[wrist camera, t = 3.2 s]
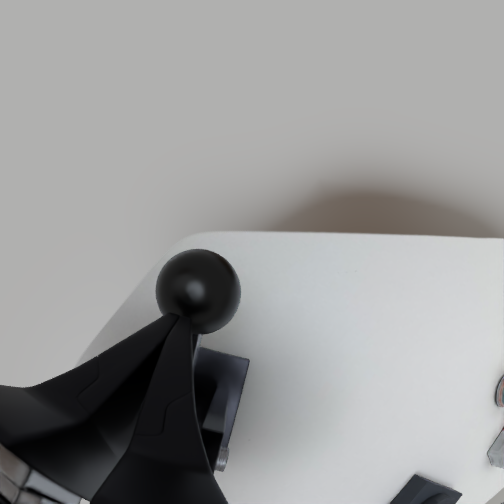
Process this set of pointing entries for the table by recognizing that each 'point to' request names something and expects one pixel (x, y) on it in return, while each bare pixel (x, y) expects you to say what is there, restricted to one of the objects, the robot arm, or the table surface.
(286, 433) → the table surface
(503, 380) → the beer can
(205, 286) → the switch lever
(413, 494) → the stop housing
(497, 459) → the ink box
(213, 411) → the switch bracket
